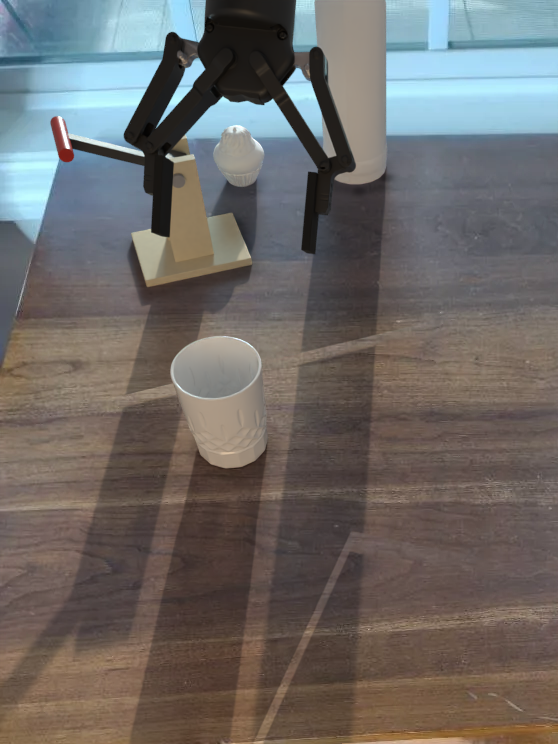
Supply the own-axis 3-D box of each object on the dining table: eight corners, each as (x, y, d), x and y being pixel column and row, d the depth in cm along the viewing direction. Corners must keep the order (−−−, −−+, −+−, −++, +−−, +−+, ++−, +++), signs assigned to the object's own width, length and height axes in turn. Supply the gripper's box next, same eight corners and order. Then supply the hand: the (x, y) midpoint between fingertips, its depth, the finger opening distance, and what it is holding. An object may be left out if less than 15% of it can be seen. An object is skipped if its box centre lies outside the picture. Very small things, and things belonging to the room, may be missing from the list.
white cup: (177, 461, 82) (153, 386, 74) (213, 404, 86) (195, 327, 78) (253, 483, 81) (238, 409, 72) (286, 423, 85) (275, 347, 77)
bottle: (387, 151, 112) (387, -128, 87) (387, 187, 107) (387, -96, 83) (325, 150, 112) (307, -129, 87) (322, 186, 107) (303, -97, 82)
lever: (56, 165, 83) (60, 142, 82) (48, 132, 86) (52, 109, 85) (188, 195, 90) (194, 174, 89) (176, 164, 94) (182, 143, 92)
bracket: (147, 289, 96) (117, 185, 85) (133, 241, 101) (103, 137, 90) (252, 266, 98) (236, 162, 88) (233, 220, 103) (216, 117, 93)
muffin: (258, 199, 106) (250, 145, 100) (210, 191, 106) (200, 137, 101) (274, 170, 109) (267, 116, 103) (228, 163, 110) (219, 109, 104)
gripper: (402, 13, 76) (375, 263, 81) (127, -14, 77) (116, 233, 82) (394, -23, 69) (365, 254, 73) (90, -53, 70) (81, 221, 75)
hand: (233, 244), depth 78 cm, fingers open, 13 cm apart
